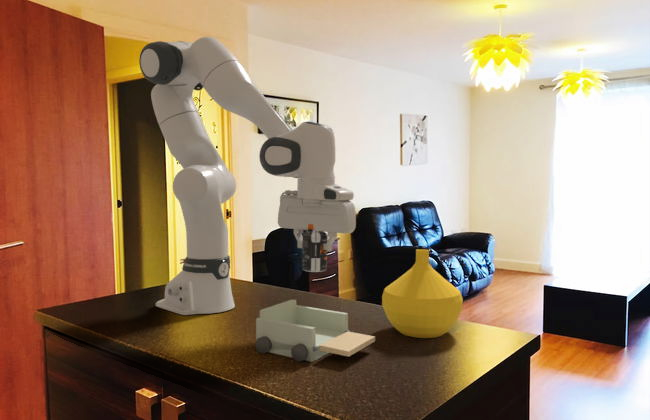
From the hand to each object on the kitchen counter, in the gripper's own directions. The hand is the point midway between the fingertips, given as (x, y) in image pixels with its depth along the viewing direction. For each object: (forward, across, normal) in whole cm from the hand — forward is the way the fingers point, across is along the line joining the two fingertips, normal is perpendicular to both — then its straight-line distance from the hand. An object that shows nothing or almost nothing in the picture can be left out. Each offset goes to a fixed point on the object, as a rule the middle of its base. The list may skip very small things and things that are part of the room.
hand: (314, 249), depth 125 cm
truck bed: (+19, +6, -13) cm, 24 cm away
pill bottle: (+5, 0, 0) cm, 5 cm away
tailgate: (+16, +14, -13) cm, 25 cm away
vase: (+18, +24, +10) cm, 32 cm away
